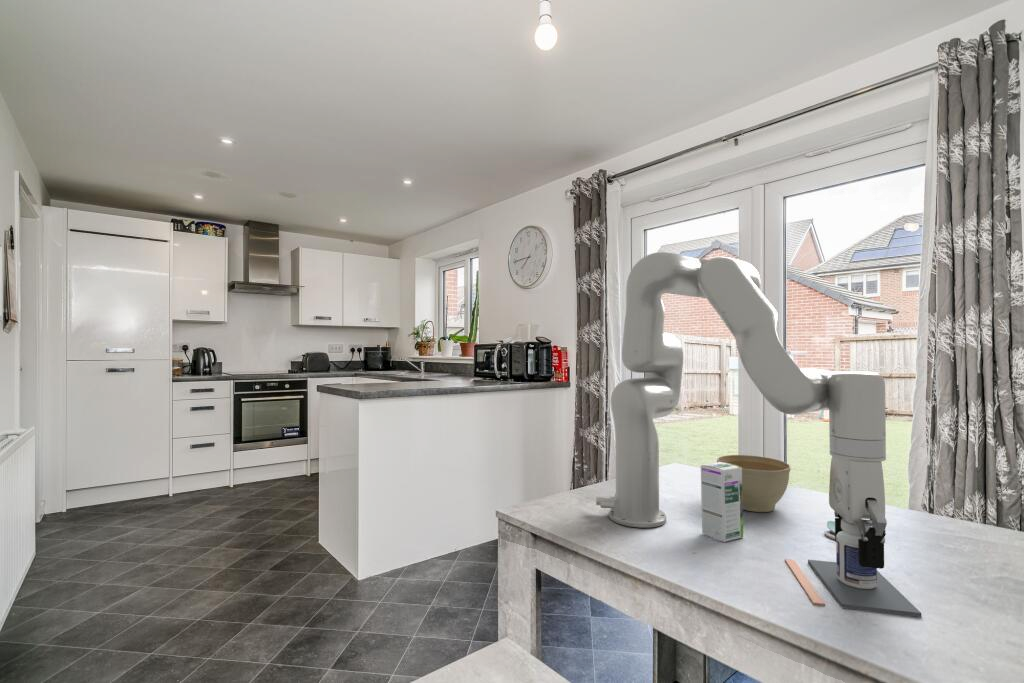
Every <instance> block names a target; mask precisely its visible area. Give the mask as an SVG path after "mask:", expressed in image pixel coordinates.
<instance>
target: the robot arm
mask: <svg viewBox="0 0 1024 683" xmlns="http://www.w3.org/2000/svg"><path fill="white" fill-rule="evenodd" d="M760 286H761V278H760V274H759V271H758V270H757V269H756V268H755V266H753V265H752V264H751V263H749V262H747V261H744V260H740V259H736V258H732V257H727V256H718V257H714V258H710V259H702V258H694V257H691V256H686V255H682V254H679V253H672V252H667V251H666V252H665V251H664V252H662V251H660V252H652V253H650V254H647V255H645V256H644V257H641V259H639V260H638V261H637V262H636V263H635V265H633V266H632V268H631V270H630V272H629V274H628V277H627V280H626V287H625V289H626V290H625V295H626V296H625V298H626V300H625V303H626V304H625V305H626V306H625V318H624V324H623V325H624V326H623V335H622V336H623V337H622V345H621V346H622V347H621V360H622V364H623V365H624V367H625V369H627V370H629V371H631V372H633V373H642V374H644V377H637V378H635V377H634V378H628V379H626V380H622V381H621V382H620V383H618V384H617V385H616V386H615V387H614V388H613V390H612V393H611V396H610V407H611V412H612V416H613V424H614V434H615V444H614V445H615V447H614V448H615V493H614V496H610V497H604V496H596V499H595V500H596V501H595V503H596V506H600V509H609V511H608V517H609V520H611V521H613V522H614V523H616V524H618V525H622V526H626V527H632V528H640V529H641V528H646V529H647V528H656V527H659V526H660V527H661V526H662V525H664V524H666V522H667V515H666V513H665V512H664V511H662V510H660V448H659V447H660V446H659V445H660V444H659V435H658V430H657V427H656V425H655V423H654V422H655V421H654V419H659V418H663V417H667V416H669V415H671V414H672V413H673V412H674V411H675V410H676V409H677V406H678V404H679V401H680V394H681V386H682V378H683V376H682V375H683V367H684V350H683V346H682V343H681V342H680V340H679V338H678V337H676V336H675V335H674V334H672V333H669V332H667V331H664V326H665V325H664V323H665V318H666V317H665V306H664V303H663V299H662V295H663V294H671V295H678V296H687V297H695V298H702V299H706V300H707V301H708V302H709V304H710V305H711V307H712V308H713V309H714V310H715V312H716V314H717V315H718V316H719V317H720V319H721V320H722V321H723V323H724V324H725V326H726V327H727V329H728V330H729V332H730V333H731V335H732V336H733V337H734V339H735V342H736V343H735V344H736V349H737V350H738V351H737V352H738V355H739V357H740V360H741V364H742V365H743V368H744V370H745V372H746V373H747V375H748V377H749V378H750V380H751V381H752V382H753V384H754V385H755V387H756V388H757V389H758V391H759V393H760V394H761V395H762V397H764V399H765V400H766V401H767V402H768V403H769V404H770V405H771V406H772V407H773V408H774V409H776V410H777V411H779V412H780V413H784V414H786V415H791V416H793V415H794V416H797V415H802V414H807V413H813V412H819V411H828V414H829V415H828V419H829V420H828V422H829V424H828V426H829V427H828V428H829V431H828V434H829V435H828V436H829V438H828V439H829V455H830V456H831V459H830V467H829V468H830V470H829V485H828V486H829V492H828V504H829V507H830V508H831V509H832V510H833V511H834V514H833V515H834V517H835V518H834V522H835V534H834V536H835V540H834V541H836V535H837V533H839V532H840V531H843V530H842V529H841V519H845V520H846V521H847V522H848V523H851V524H853V523H854V522H857V525H858V528H859V532H860V536H861V539H858V557H859V564H860V565H861V566H862V567H870V568H877V569H879V570H880V569H884V568H885V543H886V535H887V532H886V527H887V523H888V522H887V518H886V494H885V493H886V492H885V479H884V471H883V463H882V462H885V461H886V460H887V440H886V439H887V438H886V436H887V435H886V434H887V432H886V431H887V430H886V424H887V423H886V422H887V420H886V417H887V416H886V382H885V379H884V377H883V375H882V374H880V373H877V372H873V371H861V370H860V371H858V370H857V371H855V370H850V371H849V370H845V371H842V370H841V371H831V370H824V369H819V368H799V366H798V365H797V364H796V362H795V361H794V360H793V359H792V357H791V356H790V355H789V354H788V352H787V350H786V349H785V347H784V346H783V344H782V343H781V341H780V339H779V336H778V332H777V324H778V320H779V314H778V312H777V310H776V309H775V307H774V306H773V305H772V303H770V301H769V300H768V299H767V298H766V296H765V295H764V294H763V293H762V292H761V290H760ZM865 526H870V528H869V529H868V531H867V532H866V529H865Z"/></svg>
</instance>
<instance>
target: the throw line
mask: <svg viewBox="0 0 1024 683" xmlns="http://www.w3.org/2000/svg"><path fill="white" fill-rule="evenodd" d="M784 562H785V563H786V562H787V563H786V564H787V566H788V568H789V567H790V568H789V569H790V570H792V571H791V572H792V574H793V576H794V577H795V576H796V577H795V578H796V580H797V581H798V583H799V584H800V586H801V588H802V589H803V591H804V592H805V594H806V596H807V597H808V599H809V600H810V601H811V604H813V606H821V607H822V606H823V607H825V605H826V604H825V602H824V601H823V599H822V597H821V596H820V595H819V593H818V592H817V591H816V589H815V588H814V586H813V585H812V583H811V582H810V580H809V579H808V577H807V576H806V575H805V573H804V572H803V570H802V569H801V568H800V566H799V564H798V563H797V561H795V559H789V558H784Z"/></svg>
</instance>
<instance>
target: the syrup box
mask: <svg viewBox="0 0 1024 683" xmlns="http://www.w3.org/2000/svg"><path fill="white" fill-rule="evenodd" d="M700 495H701V496H700V497H701V498H700V499H701V533H702V534H703V535H704V536H705V535H706V536H707V537H709V536H710V538H712V537H713V538H712V539H714V538H715V539H714V540H717V539H718V540H717V541H719V540H720V542H722V541H723V542H722V543H727V542H729V541H733V540H738V539H742V538H743V537H744V510H743V498H742V468H741V467H740V466H737V465H734V464H729V463H723V462H718V463H717V462H714V463H708V464H701V465H700Z"/></svg>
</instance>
